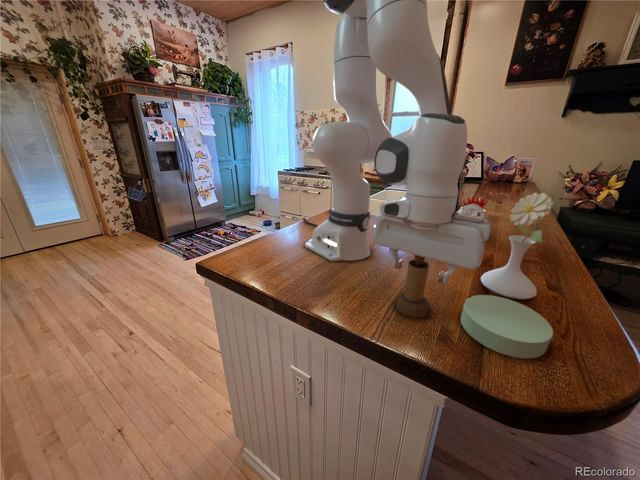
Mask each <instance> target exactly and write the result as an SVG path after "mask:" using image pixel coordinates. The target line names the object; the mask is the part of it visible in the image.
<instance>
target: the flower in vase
mask: <svg viewBox="0 0 640 480" xmlns="http://www.w3.org/2000/svg"><path fill="white" fill-rule="evenodd" d="M518 201H519V202H516V203H515V204H514V205H515V206H513V208H512V209H511V210H510V213H511V214H510V215H509V219H510V222H511V223H513V224H514V226H516V227H517V229H518V230H520V232H521V233H523V234H524V235H525V236H524V235H517V234H516V235H515V234H514V235H512V234H511V235H509V236H508V240H509V241H510V245H511V251H510V256H509V259H508V262H507V264H505V266H504V265H503V266H502V267H498V268H495V269H491V270H488V271H486V272H484V273H483V274H482V275H481V277H480V281H481V284H482V285H483V287H485V288H486V289H487V290H489V291H491V292H492V293H494V294H496V295H500V296H502V297H504V298H508V299H509V298H510V299H515V300H529V299H532V298H534V297H536V296H537V294H538V293H537V291H538V290H537V288H536V286H535V285H534V283H533V281H531V279H529V277H528V276H526V275H525V274H524V273H523V271H522V269H521V263H522V260H523V258H524V255H525V254H526V252H527V250H528V249H529V248H530V247H531V246H532V245H534V244H536V243H543V231H542V230H540V229H537V221H541V220H543V218H544V217H545V216H548V215H549V214H550V211H551V209H552V206H553V205H554V201H552V198H551V196H548V194H546V193H545V192H542V193H539V194H538V193H537V192H534V193H532V194H528V195H526V196H525V198H524V197H521V198H520V199H518ZM524 225H525V226H526V227H528V226H531V225H533V226H534V227H533V229H532V230H531V231H530V232H529V229H527V228H526V227H525V226H524ZM536 229H537V230H536Z"/></svg>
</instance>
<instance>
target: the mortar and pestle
mask: <svg viewBox="0 0 640 480" xmlns="http://www.w3.org/2000/svg"><path fill="white" fill-rule="evenodd" d="M425 259H426V258H425V257H421V256H418V255H414V259H412V260H409V261H408V265H407V271H406V279H405V284H404V291H402V292H400V293H398V295H397V296H396V302H395V307H396V309H397V311H398V312H399V313H400V314H401V315H403V316H405V317H408V318H412V319H420V318H421V319H422V318H425V317H426V316H427V314H428V310H429V305H430V304H429V300H428V299H427V297H425V296H424V295H425V290H426V283H427V278H428V273H429V270H430V269H429V268H430V267H429V266H430V264H429V263H428V262H426V260H425Z"/></svg>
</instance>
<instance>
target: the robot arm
mask: <svg viewBox="0 0 640 480" xmlns="http://www.w3.org/2000/svg"><path fill="white" fill-rule="evenodd" d="M322 2H323V4H324V5H325V8H326V9H327V10H329V11H330V12H332V13H334V14H337V15H340V17H339V18H338V21H337V22H336V27H335V34H334V44H333V97H334V100H335V102H336V104H337V105H338V106H339V107H340V108H341V109H342V110H343V111H344V113H345V115H346V117H347V121H338V120H337V121H333V122H328V123H323V124H321V125H319V126H318V127H317V129H316V130H315V132H314V135H313V138H312V149H313V152H314V155H315V157H316V158H317V160H318V161H319V162H320V163H322V164H323V165H324V167H325V168H326V170H327V172H328V173H329V176H330V179H331V183H332V208H330V210H326V211H325V215H329V216H328V218H327V219H326V220H324V221H323V222H322V223H321V224H319V225H318V224H316V223H313V222H310V221H307V219H306V217H302V221H303V222H304V224H306V225H309V226H313V227H315V228H314V229H313V231H312V234H311V235H312V236H311V238H310V239H308V240H307V241H306V242H305V244H304V247H305V248H306V249H309V250H311V251H312V252H314V253H315V254H318V255H320V256H321V257H323V258H325V259H327V260H329V261H330V262H340V261H360V260H365V259H367V258H368V257H370V255H371V250H370V249H371V248H370V243H369V227H370V219H371V210H370V202H371V185H370V183H369V182H368V181H367V180H366V179H365V178H364V177H363V176H362V174H361V170H360V164H371V163H374V171H375V173H376V175H377V177H378V179H379V180H380V181H382V183H383V184H385V185H392V186H402V185H403V186H404V185H406V189H405V196H401V197H398V198H394V199H390V200H387V201H385V202H383V203H381V204H380V205H379V213H380V215H378V217H377V219H376V221H375V224H374V225H373V228H374V234H373V241H374V242H375V244H376V245H377V246H380V247H384V248H387V249H388V253H389V255H390V256H389V257H390V258H391V260H392V268H393V269H397V270H401V269H402V268H403V265H404V264H403V263H404V259H402V258H400V256H399V253H398V252H403V253H407V254H411V255H414V256H415V255H418V256H421V257H425V259H429V260H433V261H437V262H441V263H444V264H447V265H446V268H447V269H448V270H446V271H443V270H441V272H439V274H438V279H437V282H438V283H441V284H444V285H447V283H448V281H449V280H450V275H452V274H453V273H454V272H455V271H456V270H457V268H458V267H459V268H463V269H465V270H470V271H473V270H475V269H477V268H479V267H480V266H481V264H482V262H483V258H484V253H485V252H484V251H485V243H486V242H488V240H489V239H490V236H491V232H492V226H491V224H490V223H489V221H488V222H487V221H486V220H484V219H483V217H480V216H469V215H466V214H460V213H457V212H456V207H457V203H458V196H459V188H458V185H459V184H458V183H459V179H460V177H461V174H462V173H463V169H464V164H465V160H466V152H467V146H468V128H467V127H468V126H467V122H466V120H465V119H464V118H463V117H462V116H459V115H455V114H452V111H451V104H450V97H449V90H448V86H447V85H448V83H447V79H446V72H445V68H444V64H443V61H442V59H441V57H440V55H439V54H438V52H437V50H436V47H435V43H434V41H433V39H432V38H433V37H432V34H431V33H432V32H431V29H430V24H429V17H428V4H427V3H428V0H322ZM377 70H378V71H379V72H380V73H381V74H382V75H384V76H385V77H387V78H389V79H391V80H393V81H395V82H397V83H398V84H400V85H401V86H402V87H404V88H405V89H407V90H408V91H409V92H410V93H411V94H412V96H413V97H414V98H415V100H416V103H417V107H418V114H419V116H418V117H416V119H415V121H414V123H413V124H412V125H411V126H410V127H409V128H407V129H405V130H404V131H402V132H400V133H398V134H396V135H394V136H393V135H392V132H391V130H390V129H389V128H388V127H387V125H386V124H385V121H384V119H383V117H382V115H381V111H380V108H379V103H378V97H377ZM482 222H484V223H486V224H484V223H482Z"/></svg>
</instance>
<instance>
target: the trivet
mask: <svg viewBox="0 0 640 480" xmlns="http://www.w3.org/2000/svg"><path fill="white" fill-rule="evenodd" d="M460 323H461V325H462V328H463V329H464V330H465V332H466V333H467V334H468V335H469V336H470V337H472V338H473V340H474V341H476V342H478V343H479V344H481V345H482V346H484V347H485V348H488V349H490V350H492V351H494V352H497V353H499V354H501V355H505V356H508V357H513V358H518V359H536V358H540V357H542V356H543V355H545V353H546V352H547V350H548V348H549V345H550V342H551V341H552V338H553V336H554V330H553V328H552V325H551V324H550V322H548V320H547V319H546V318H544V316H543V315H541V314H540V313H538V312H537V311H535V310H533V309H532V308H530V307H528V306H527V305H525V304H522V303H520V302H518V301H515V300H512V299H509V298H507V297H503V296H502V297H501V296H498V295H497V296H496V295H490V294H478V295H473V296H471V297H470V296H469V297H468V298H467V299H466V300H465V301H464V303H463V307H462V312H461V315H460Z"/></svg>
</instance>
